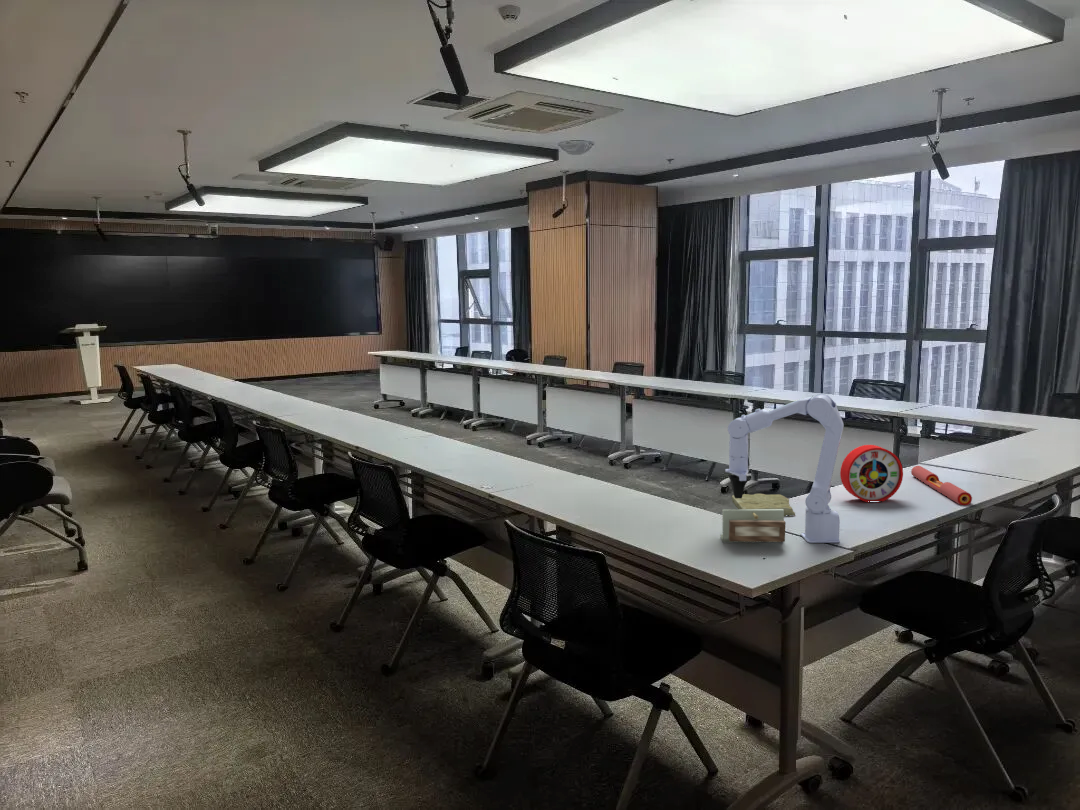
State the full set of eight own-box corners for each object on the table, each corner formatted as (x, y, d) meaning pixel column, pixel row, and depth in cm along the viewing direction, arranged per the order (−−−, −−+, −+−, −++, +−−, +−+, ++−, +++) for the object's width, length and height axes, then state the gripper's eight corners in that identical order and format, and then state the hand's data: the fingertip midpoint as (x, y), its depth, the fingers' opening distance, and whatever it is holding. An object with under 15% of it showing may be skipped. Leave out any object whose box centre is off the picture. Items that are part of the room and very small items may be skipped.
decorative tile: (743, 518, 249) (744, 508, 249) (731, 502, 269) (731, 492, 268) (799, 518, 248) (800, 507, 248) (782, 502, 268) (783, 492, 268)
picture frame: (783, 540, 218) (784, 520, 217) (784, 541, 216) (785, 522, 215) (728, 539, 219) (729, 519, 218) (729, 541, 217) (730, 521, 216)
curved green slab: (779, 538, 226) (780, 506, 225) (786, 546, 218) (787, 513, 217) (720, 538, 227) (720, 506, 226) (725, 546, 220) (725, 514, 218)
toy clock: (846, 503, 262) (848, 448, 259) (839, 499, 268) (841, 445, 265) (901, 502, 262) (904, 447, 259) (893, 497, 268) (896, 443, 265)
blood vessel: (971, 506, 256) (972, 492, 256) (956, 505, 257) (957, 492, 256) (923, 477, 298) (924, 465, 297) (910, 477, 298) (911, 465, 298)
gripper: (721, 451, 240) (721, 492, 242) (730, 461, 226) (729, 504, 227) (743, 451, 239) (742, 491, 241) (753, 460, 225) (752, 503, 227)
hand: (738, 497), depth 234 cm, fingers closed
